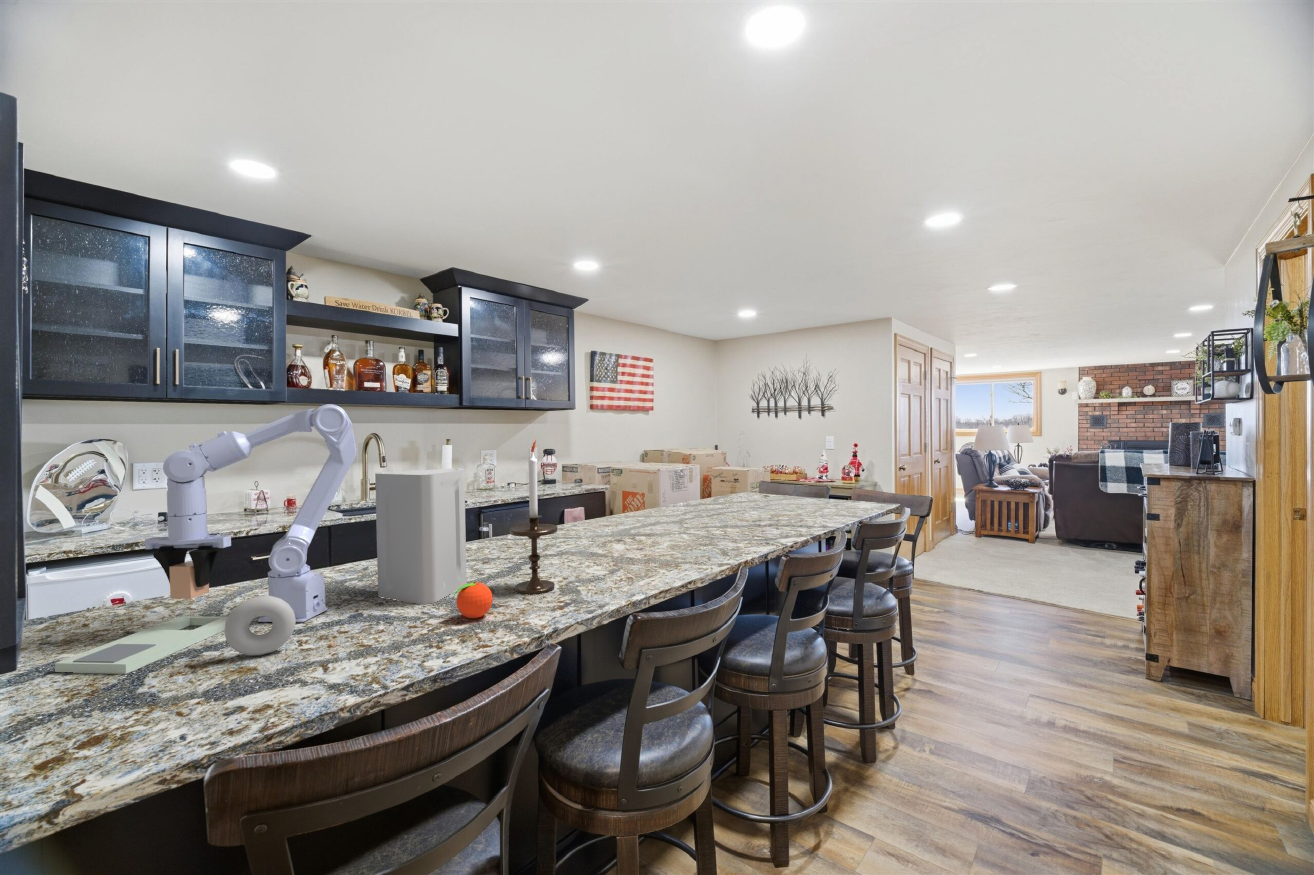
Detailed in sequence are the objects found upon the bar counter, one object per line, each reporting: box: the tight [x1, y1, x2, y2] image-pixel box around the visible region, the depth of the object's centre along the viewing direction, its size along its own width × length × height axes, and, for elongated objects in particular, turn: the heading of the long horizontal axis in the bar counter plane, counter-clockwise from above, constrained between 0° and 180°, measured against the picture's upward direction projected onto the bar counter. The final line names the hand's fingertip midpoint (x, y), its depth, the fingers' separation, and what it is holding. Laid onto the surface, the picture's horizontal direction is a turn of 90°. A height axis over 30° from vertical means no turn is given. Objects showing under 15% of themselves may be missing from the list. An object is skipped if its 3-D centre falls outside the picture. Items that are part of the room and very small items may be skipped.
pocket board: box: [54, 615, 229, 675], centre depth 100 cm, size 12×22×2 cm, turn 176°
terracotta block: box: [169, 560, 210, 600], centre depth 107 cm, size 4×4×6 cm
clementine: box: [451, 581, 494, 619], centre depth 113 cm, size 8×7×7 cm
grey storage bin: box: [374, 467, 468, 605], centre depth 129 cm, size 19×15×28 cm
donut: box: [223, 595, 297, 657], centre depth 96 cm, size 10×4×10 cm, turn 118°
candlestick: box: [509, 439, 559, 596], centre depth 132 cm, size 11×11×35 cm
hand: (189, 585), depth 107 cm, fingers closed on terracotta block, 4 cm apart
